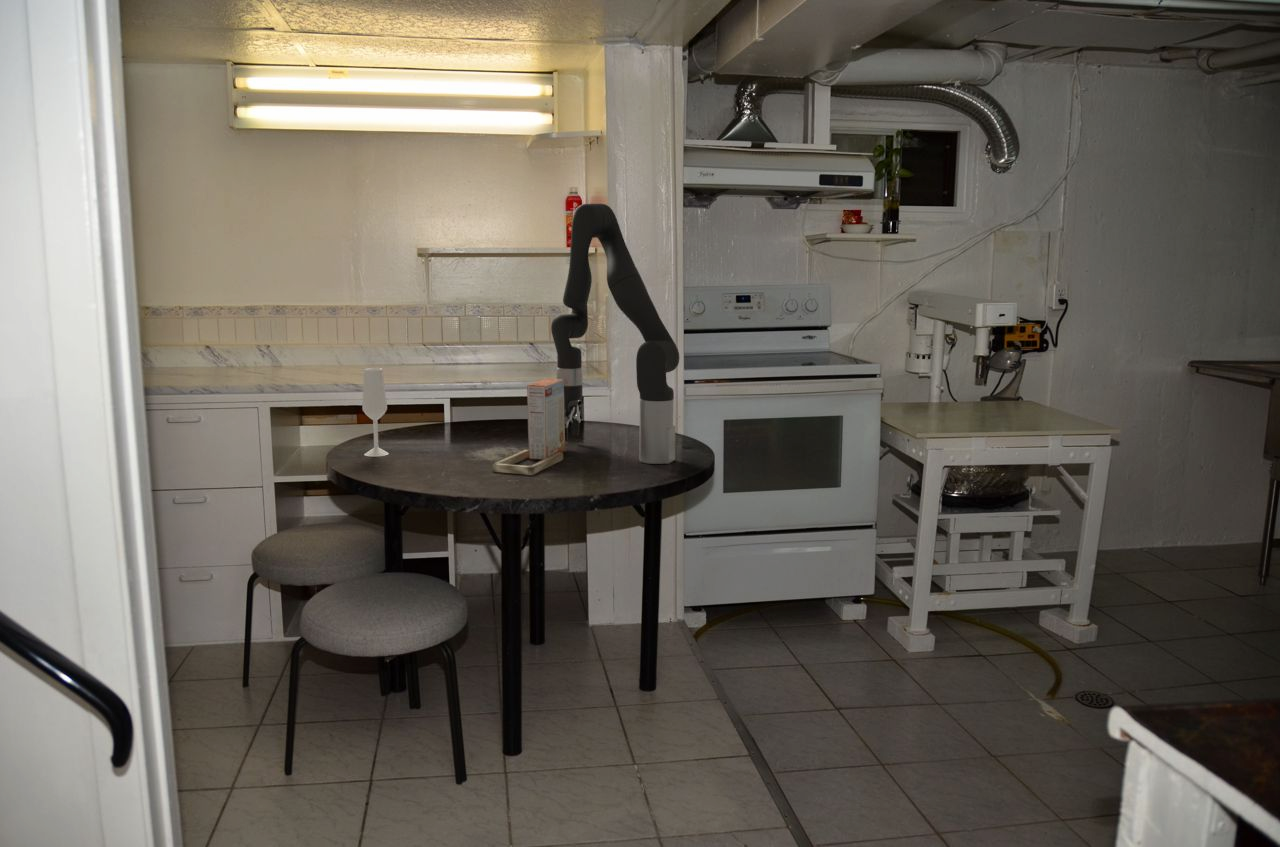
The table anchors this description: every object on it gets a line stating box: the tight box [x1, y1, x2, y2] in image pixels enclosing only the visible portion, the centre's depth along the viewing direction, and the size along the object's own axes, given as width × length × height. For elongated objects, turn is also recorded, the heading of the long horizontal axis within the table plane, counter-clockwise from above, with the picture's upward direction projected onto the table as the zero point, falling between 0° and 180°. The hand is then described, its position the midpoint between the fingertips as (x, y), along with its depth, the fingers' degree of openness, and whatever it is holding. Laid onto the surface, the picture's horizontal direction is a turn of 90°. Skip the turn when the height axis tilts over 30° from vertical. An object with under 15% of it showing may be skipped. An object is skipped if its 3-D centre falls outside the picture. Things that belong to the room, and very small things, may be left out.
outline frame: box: [491, 449, 564, 476], centre depth 263 cm, size 11×20×2 cm, turn 161°
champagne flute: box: [361, 367, 389, 457], centre depth 274 cm, size 7×7×24 cm
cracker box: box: [526, 378, 566, 461], centre depth 275 cm, size 14×6×21 cm, turn 163°
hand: (569, 437), depth 289 cm, fingers open, 8 cm apart
